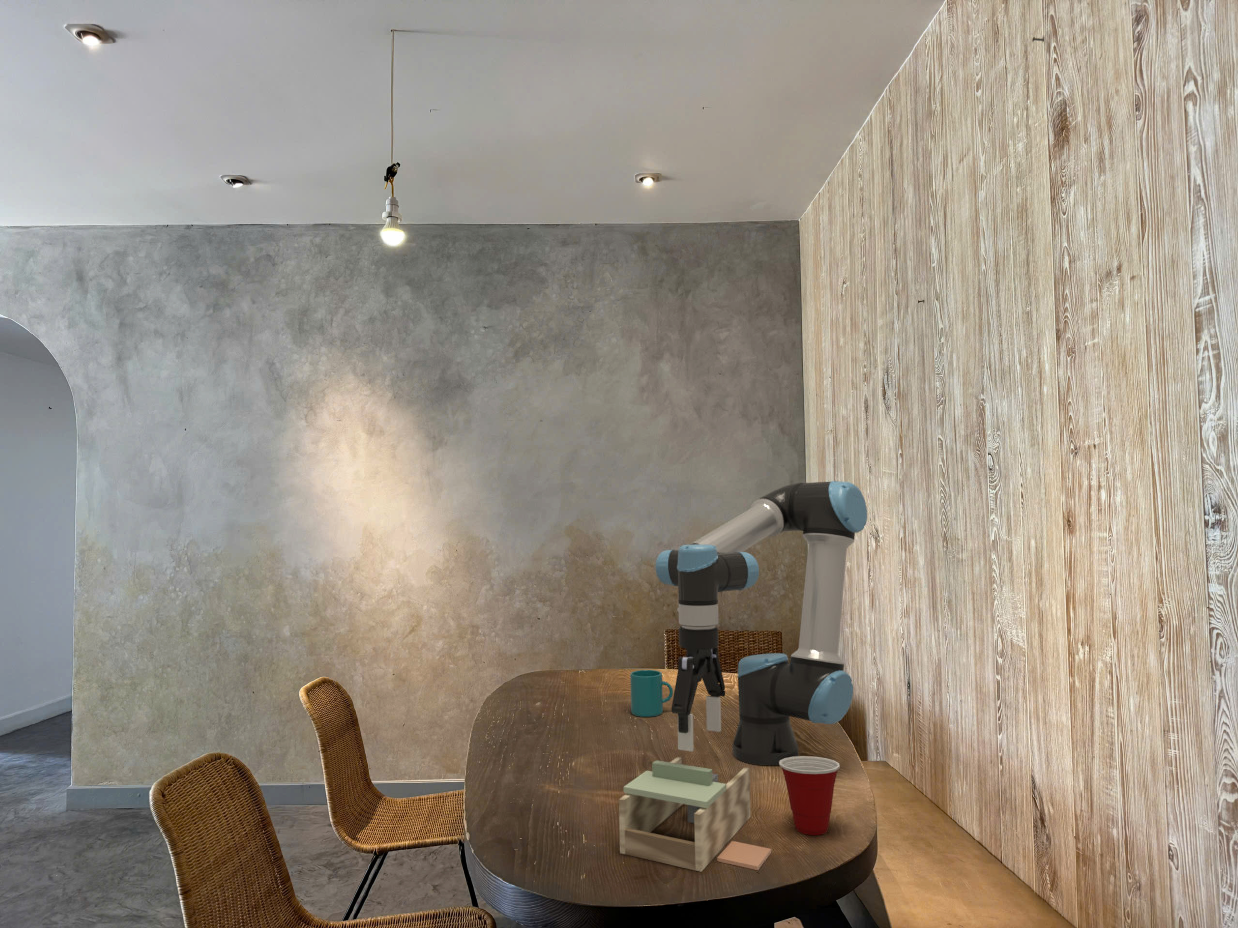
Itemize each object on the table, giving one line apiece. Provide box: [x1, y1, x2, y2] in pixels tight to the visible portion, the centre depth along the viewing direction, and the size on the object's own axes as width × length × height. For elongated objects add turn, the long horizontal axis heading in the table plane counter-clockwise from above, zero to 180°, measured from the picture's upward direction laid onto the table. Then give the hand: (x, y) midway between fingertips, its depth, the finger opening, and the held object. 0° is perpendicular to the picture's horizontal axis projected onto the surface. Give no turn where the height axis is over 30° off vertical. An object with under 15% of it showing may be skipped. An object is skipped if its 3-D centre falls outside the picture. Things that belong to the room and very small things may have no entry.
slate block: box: [686, 773, 719, 824], centre depth 144 cm, size 4×4×8 cm
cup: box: [629, 669, 674, 718], centre depth 218 cm, size 9×12×11 cm
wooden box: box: [618, 756, 751, 872], centre depth 138 cm, size 24×15×9 cm, turn 151°
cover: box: [623, 760, 727, 808], centre depth 134 cm, size 9×16×3 cm, turn 61°
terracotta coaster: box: [716, 840, 772, 871], centre depth 129 cm, size 7×7×1 cm
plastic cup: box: [778, 755, 841, 836], centre depth 140 cm, size 11×11×12 cm
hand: (700, 739), depth 145 cm, fingers open, 13 cm apart
